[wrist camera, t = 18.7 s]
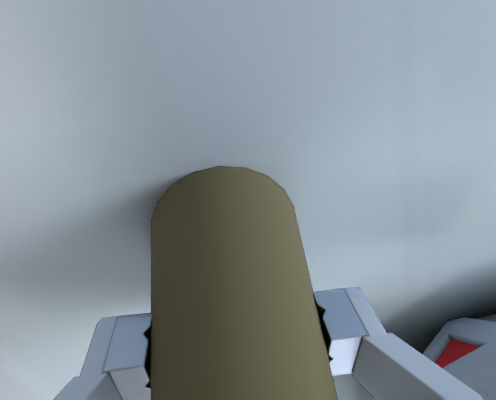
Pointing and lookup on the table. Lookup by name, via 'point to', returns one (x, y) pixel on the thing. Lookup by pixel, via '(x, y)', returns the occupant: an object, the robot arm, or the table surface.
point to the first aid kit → (468, 352)
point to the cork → (233, 294)
